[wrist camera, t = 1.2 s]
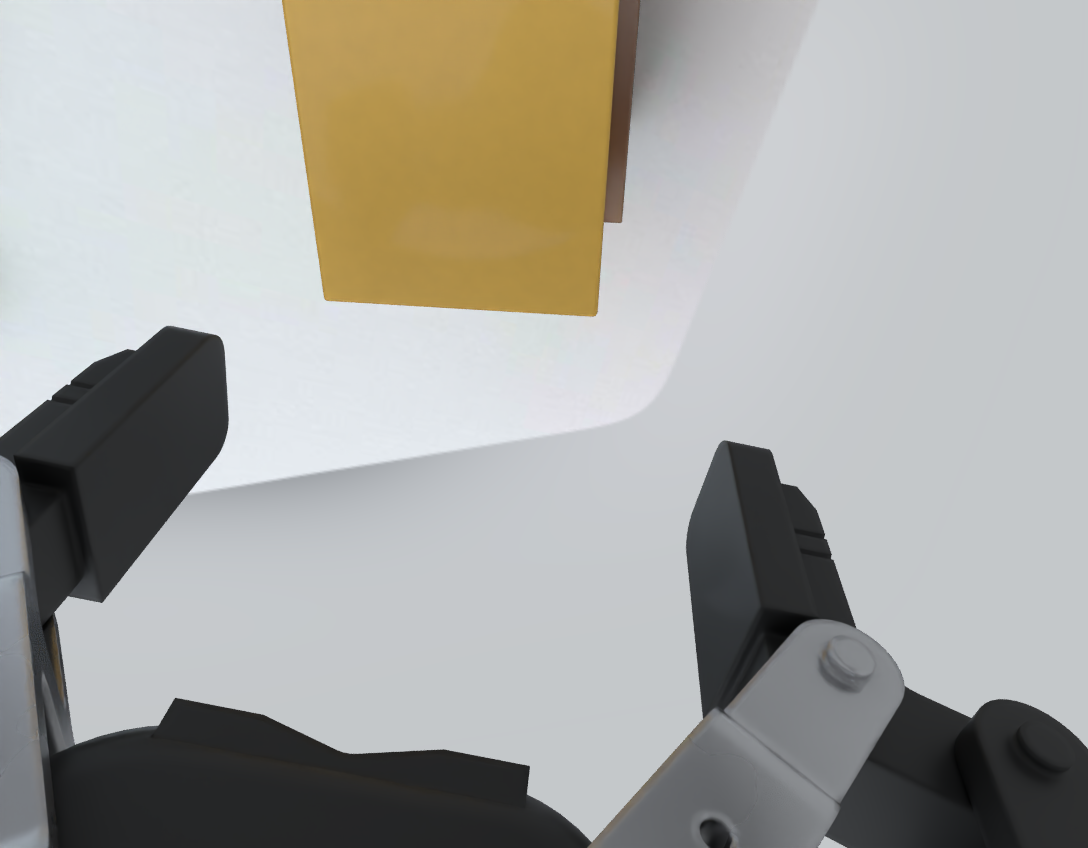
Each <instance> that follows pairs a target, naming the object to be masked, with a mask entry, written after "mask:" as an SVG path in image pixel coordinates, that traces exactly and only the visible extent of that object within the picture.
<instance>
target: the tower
mask: <svg viewBox="0 0 1088 848" xmlns="http://www.w3.org/2000/svg"><path fill="white" fill-rule="evenodd" d="M639 10H640V0H619V12H618V26H617V41H616V55H615V69H614V83H613V98H612V112H611V126H610V141H609V155H608V169H607V183H606V198H605V212H604V222H610V223H621V222H622V214H623V202H624V190H625V178H626V166H627V154H628V142H629V130H630V118H631V106H632V94H633V82H634V70H635V58H636V46H637V34H638V22H639Z"/></svg>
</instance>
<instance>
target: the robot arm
mask: <svg viewBox="0 0 1088 848" xmlns="http://www.w3.org/2000/svg"><path fill="white" fill-rule="evenodd" d="M228 421H229V417H228V400H227V383H226V367H225V352H224V345H223V342H222V340H221V338H220V337H219V336H217V335H213V334H208V333H203V332H198V331H193V330H188V329H184V328H179V327H174V326H166V327H164V328H163V329H161V330H160V331H159V332H158V333H157V334H155V335H154V336H153V337H152V338H151V339H149V340H148V341H147V342H146V343H145V344H144V345H142V346H141V347H140V348H139V349H138V350H136V351H134V350H129V349H127V350H124V351H122V352H119V353H117V354H114V355H112V356H109V357H106V358H104V359H101V360H99V361H96V362H94V363H93V364H91V365H90V366H89V367H88V368H86V369H85V370H84V371H83V372H82V373H80V374H79V375H78V376H77V377H75V378H74V379H73V380H72V381H71V384H70V385H65V386H64V387H63V388H62V389H60V390H59V391H58V392H57V393H55V394H54V395H53V396H52V400H51V401H50V400H47V401H45V402H44V403H43V404H42V405H40V406H39V407H38V408H37V409H35V410H34V411H33V412H32V413H30V414H29V415H28V416H27V417H25V418H24V419H23V420H22V421H20V422H19V423H18V424H17V425H15V426H14V427H13V428H12V429H10V430H9V431H8V432H7V433H5V434H4V435H3V436H2V437H0V848H818V846H819V845H820V843H821V841H822V840H823V838H824V836H826V837H828V838H830V839H832V840H834V841H836V842H838V843H840V844H841V845H843V846H845V847H847V848H1088V749H1087V747H1086V746H1085V745H1084V744H1083V743H1082V742H1081V741H1080V740H1079V739H1078V738H1077V737H1076V736H1075V735H1074V734H1073V733H1072V732H1071V731H1070V730H1069V729H1067V728H1066V727H1065V726H1063V725H1062V724H1061V723H1060V722H1058V721H1057V720H1055V719H1054V718H1052V717H1051V716H1049V715H1048V714H1046V713H1044V712H1042V711H1040V710H1038V709H1036V708H1034V707H1032V706H1029V705H1027V704H1024V703H1020V702H1017V701H1012V700H1003V699H998V700H992V701H989V702H987V703H985V704H984V705H983V706H982V707H981V708H980V709H979V710H978V711H977V712H976V714H975V715H974V716H973V717H972V718H970V717H968V716H966V715H963V714H961V713H959V712H957V711H954V710H952V709H950V708H948V707H946V706H944V705H941V704H939V703H937V702H935V701H932V700H931V699H928V698H926V697H924V696H922V695H920V694H918V693H916V692H914V691H912V690H910V689H909V688H907V687H905V686H904V680H903V677H902V674H901V671H900V670H899V668H898V666H897V664H896V662H895V661H894V660H893V658H892V657H891V656H890V654H889V653H887V651H886V650H885V649H884V648H883V647H882V646H881V645H880V644H879V643H878V642H876V641H875V640H874V639H872V638H871V637H869V636H868V635H867V634H865V633H863V632H862V631H860V630H858V629H856V626H855V623H854V620H853V617H852V614H851V611H850V608H849V605H848V602H847V599H846V596H845V593H844V591H843V587H842V584H841V581H840V578H839V575H838V572H837V569H836V566H835V563H834V560H831V555H832V554H831V551H830V548H829V545H828V542H827V540H826V539H824V536H825V533H824V530H823V527H822V524H821V522H820V518H819V516H818V513H817V510H816V509H815V508H814V507H813V505H812V504H811V503H810V502H809V501H808V500H807V498H806V497H805V496H804V495H803V494H802V492H801V491H800V490H799V489H798V487H796V486H790V485H786V484H781V482H780V479H779V475H778V472H777V469H776V465H775V461H774V458H773V455H772V452H771V451H770V450H769V449H764V448H759V447H754V446H749V445H744V444H740V443H735V442H730V441H722V442H721V443H720V444H719V446H718V448H717V450H716V452H715V455H714V457H713V460H712V462H711V465H710V468H709V470H708V473H707V475H706V478H705V481H704V483H703V486H702V489H701V491H700V494H699V496H698V499H697V501H696V504H695V507H694V510H693V512H692V515H691V519H690V522H689V527H688V532H687V541H686V553H687V563H688V573H689V583H690V592H691V603H692V613H693V622H694V633H695V643H696V652H697V662H698V673H699V682H700V692H701V702H702V712H703V720H702V721H701V722H700V723H699V724H698V725H697V726H696V728H695V729H694V730H693V731H692V732H691V733H690V734H689V735H688V736H687V738H686V739H685V740H684V741H683V742H682V743H681V744H680V745H679V746H678V748H677V749H676V750H675V751H674V752H673V753H672V754H671V755H670V757H669V758H668V759H667V760H666V761H665V762H664V763H663V764H662V766H660V768H659V769H658V770H657V771H656V772H655V773H654V774H653V775H652V776H651V778H650V779H649V780H648V781H647V782H646V783H645V784H644V785H643V786H642V788H641V789H640V790H639V791H638V792H637V793H636V794H635V795H634V796H633V798H632V799H631V800H630V801H629V802H628V803H627V804H626V805H625V806H624V808H623V809H622V810H621V811H620V812H619V813H618V814H617V815H616V816H615V818H614V819H613V820H612V821H611V822H610V823H609V824H608V825H607V826H606V828H605V829H604V830H603V831H602V832H601V833H600V834H599V835H598V836H597V838H596V839H595V840H594V841H593V842H591V841H590V840H589V839H588V838H587V837H586V836H585V835H584V834H583V833H582V832H581V831H580V830H579V829H578V828H577V827H576V826H574V825H573V824H572V823H571V822H569V821H568V820H567V819H566V818H565V817H563V816H562V815H561V814H559V813H558V812H556V811H555V810H553V809H552V808H550V807H549V806H547V805H546V804H544V803H542V802H541V801H539V800H537V799H535V798H533V797H531V796H529V795H527V787H528V777H529V770H530V766H527V765H521V764H516V763H511V762H506V761H501V760H495V759H490V758H485V757H480V756H474V755H469V754H464V753H459V752H454V751H449V750H426V751H406V752H386V753H368V754H367V753H366V754H348V753H343V752H340V751H337V750H335V749H333V748H331V747H329V746H327V745H325V744H323V743H321V742H319V741H316V740H314V739H312V738H310V737H308V736H306V735H304V734H302V733H300V732H298V731H296V730H294V729H292V728H290V727H287V726H285V725H283V724H281V723H279V722H277V721H275V720H273V719H271V718H269V717H267V716H265V715H261V714H256V713H251V712H246V711H240V710H235V709H230V708H225V707H220V706H215V705H210V704H204V703H199V702H194V701H189V700H183V699H178V698H175V699H174V701H173V702H172V704H171V706H170V707H169V709H168V711H167V713H166V714H165V716H164V718H163V719H162V721H161V723H160V725H159V726H148V727H142V728H135V729H129V730H123V731H119V732H115V733H111V734H107V735H103V736H99V737H96V738H94V739H91V740H88V741H85V742H82V743H79V744H76V745H75V743H74V737H73V732H72V726H71V718H70V711H69V704H68V697H67V689H66V682H65V674H64V667H63V660H62V653H61V645H60V638H59V631H58V624H57V621H56V617H55V613H54V612H55V611H56V610H57V608H58V607H59V606H60V605H61V604H62V602H63V601H64V600H65V599H66V598H67V596H70V597H75V598H80V599H85V600H90V601H96V602H100V603H102V602H103V601H104V600H105V599H106V597H107V596H108V595H109V593H110V592H111V591H112V590H113V588H114V587H115V586H116V585H117V583H118V582H119V581H120V580H121V578H122V577H123V576H124V574H125V573H126V572H127V571H128V569H129V568H130V567H131V566H132V564H133V563H134V562H135V560H136V559H137V558H138V557H139V555H140V554H141V553H142V552H143V550H144V549H145V548H146V546H147V545H148V544H149V543H150V541H151V540H152V539H153V537H154V536H155V535H156V534H157V532H158V531H159V530H160V528H161V527H162V526H163V525H164V524H165V522H166V521H167V520H168V518H169V517H170V516H171V515H172V513H173V512H174V511H175V510H176V508H177V507H178V506H179V504H180V503H181V502H182V501H183V499H184V498H185V497H186V496H187V494H188V493H189V492H190V490H191V489H192V488H193V487H194V485H195V484H196V483H197V481H198V480H199V479H200V478H201V476H202V475H203V474H204V473H205V471H206V470H207V469H208V467H209V466H210V465H211V464H212V462H213V461H214V460H215V459H216V457H217V456H218V454H219V453H220V451H221V449H222V447H223V444H224V442H225V438H226V435H227V430H228Z"/></svg>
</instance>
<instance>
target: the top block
mask: <svg viewBox="0 0 1088 848" xmlns="http://www.w3.org/2000/svg"><path fill="white" fill-rule="evenodd" d="M282 4H283V12H284V19H285V26H286V33H287V40H288V47H289V54H290V61H291V68H292V75H293V82H294V89H295V96H296V103H297V110H298V117H299V124H300V131H301V138H302V145H303V152H304V159H305V166H306V173H307V180H308V187H309V194H310V201H311V209H312V216H313V223H314V230H315V237H316V244H317V251H318V258H319V265H320V272H321V279H322V286H323V293H324V298H325V300H327V301H340V302H356V303H373V304H390V305H407V306H424V307H440V308H457V309H474V310H491V311H508V312H525V313H541V314H558V315H575V316H592V317H593V316H596V314H597V312H598V297H599V283H600V269H601V255H602V240H603V226H604V212H605V198H606V183H607V169H608V155H609V141H610V126H611V112H612V98H613V83H614V69H615V55H616V41H617V26H618V12H619V0H282Z"/></svg>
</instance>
